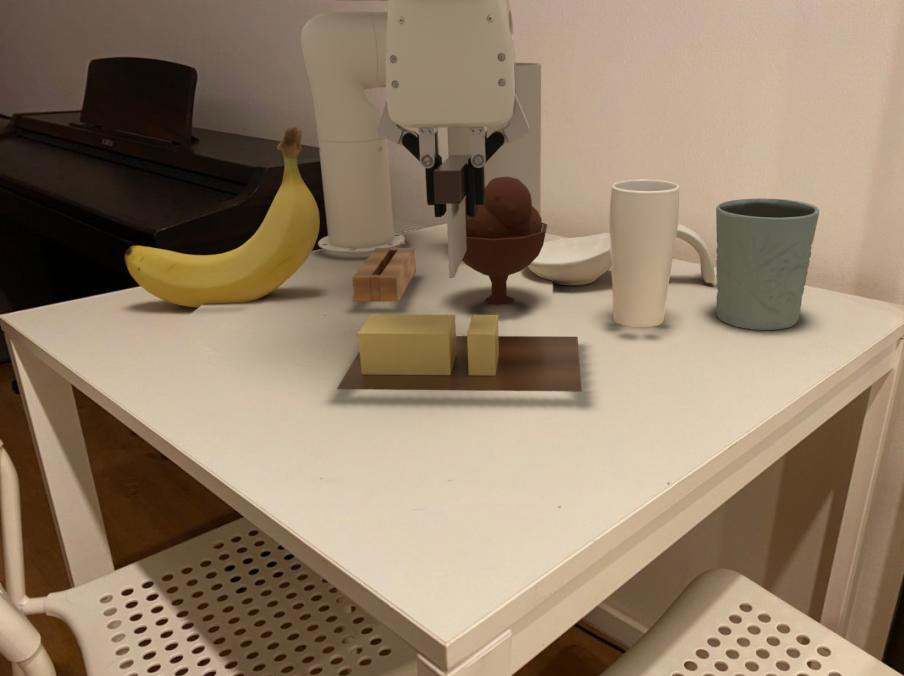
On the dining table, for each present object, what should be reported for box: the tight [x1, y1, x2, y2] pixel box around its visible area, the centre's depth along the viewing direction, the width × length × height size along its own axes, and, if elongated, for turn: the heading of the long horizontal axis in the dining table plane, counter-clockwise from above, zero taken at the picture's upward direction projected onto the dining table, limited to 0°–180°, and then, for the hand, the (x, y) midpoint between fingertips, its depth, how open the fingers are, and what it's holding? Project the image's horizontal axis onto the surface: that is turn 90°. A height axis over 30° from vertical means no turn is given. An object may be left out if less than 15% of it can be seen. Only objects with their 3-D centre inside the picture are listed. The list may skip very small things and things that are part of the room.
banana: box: [124, 126, 321, 309], centre depth 90 cm, size 23×6×20 cm, turn 91°
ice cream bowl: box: [461, 177, 548, 306], centre depth 88 cm, size 11×11×15 cm
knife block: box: [351, 247, 417, 302], centre depth 97 cm, size 13×5×4 cm, turn 176°
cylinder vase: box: [446, 62, 542, 215], centre depth 109 cm, size 12×12×25 cm
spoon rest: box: [527, 223, 715, 286], centre depth 100 cm, size 24×12×7 cm, turn 85°
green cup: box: [715, 198, 820, 331], centre depth 85 cm, size 10×10×12 cm
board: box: [336, 335, 583, 393], centre depth 74 cm, size 13×21×1 cm, turn 87°
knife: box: [434, 155, 470, 279], centre depth 68 cm, size 11×2×8 cm, turn 176°
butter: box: [357, 313, 457, 375], centre depth 73 cm, size 5×8×4 cm, turn 87°
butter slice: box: [466, 314, 500, 376], centre depth 72 cm, size 5×2×4 cm, turn 177°
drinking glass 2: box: [608, 179, 681, 328], centre depth 82 cm, size 7×7×15 cm
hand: (456, 212), depth 68 cm, fingers closed on knife, 2 cm apart
